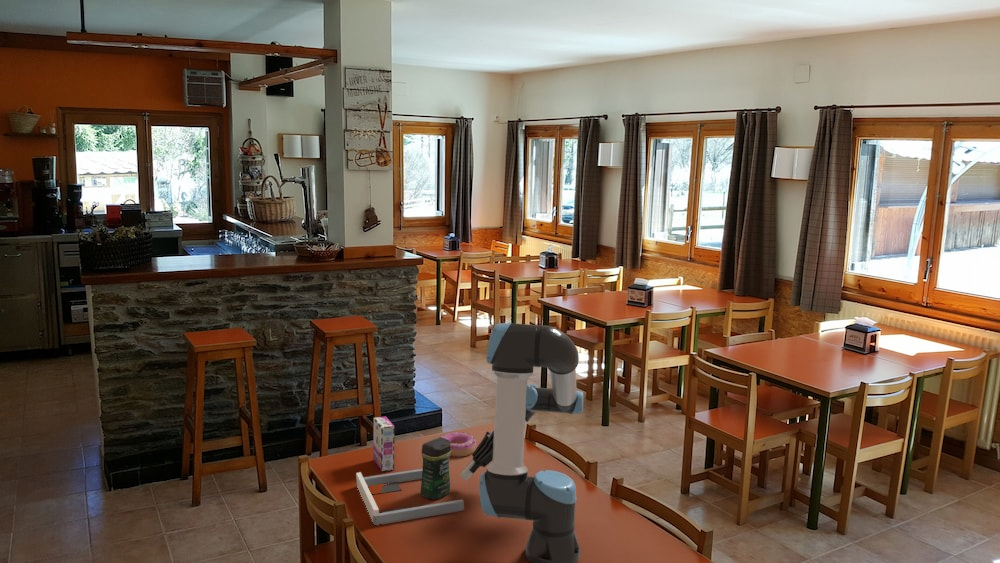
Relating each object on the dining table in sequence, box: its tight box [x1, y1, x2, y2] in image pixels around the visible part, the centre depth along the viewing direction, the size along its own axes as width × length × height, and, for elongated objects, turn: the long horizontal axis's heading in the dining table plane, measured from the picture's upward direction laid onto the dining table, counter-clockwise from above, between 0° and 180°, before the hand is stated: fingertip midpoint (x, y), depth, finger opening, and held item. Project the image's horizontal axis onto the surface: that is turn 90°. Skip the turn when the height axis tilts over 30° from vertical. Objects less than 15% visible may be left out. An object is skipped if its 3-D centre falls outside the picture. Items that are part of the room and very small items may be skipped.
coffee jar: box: [420, 436, 451, 500], centre depth 236 cm, size 10×8×19 cm
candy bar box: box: [372, 415, 396, 472], centre depth 257 cm, size 11×5×16 cm, turn 25°
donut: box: [440, 431, 477, 458], centre depth 273 cm, size 14×14×5 cm
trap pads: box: [380, 482, 413, 513], centre depth 232 cm, size 24×10×1 cm, turn 22°
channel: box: [355, 468, 465, 526], centre depth 234 cm, size 27×28×5 cm
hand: (463, 477), depth 241 cm, fingers closed
